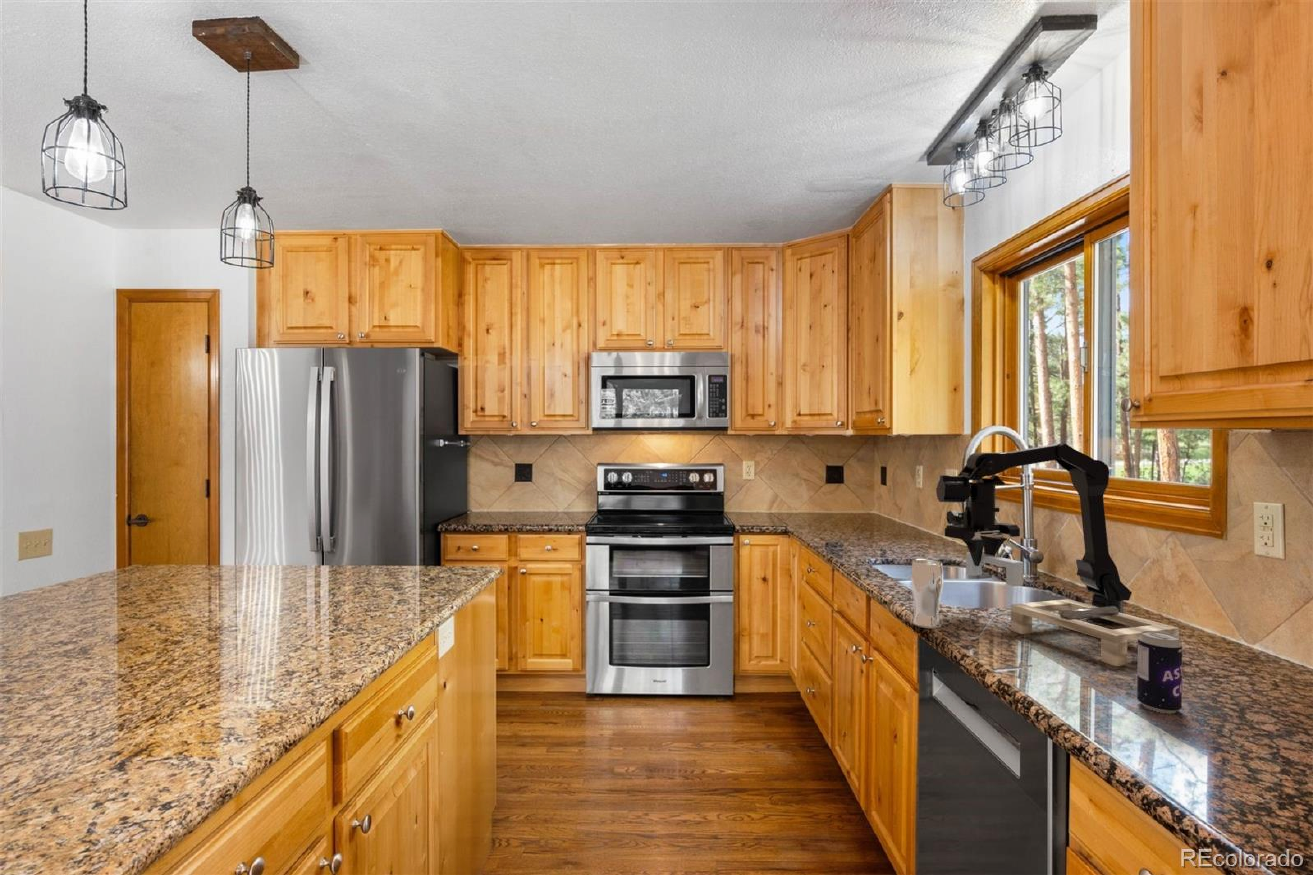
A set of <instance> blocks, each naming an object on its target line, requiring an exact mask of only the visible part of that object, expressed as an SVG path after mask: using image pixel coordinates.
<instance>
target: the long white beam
mask: <svg viewBox="0 0 1313 875" xmlns="http://www.w3.org/2000/svg"><path fill="white" fill-rule="evenodd" d="M965 556H966V557H965V558H966V560H965V561H966V562H965V571H966V572H965V575H968V576H972V577H973V576H975V577H976V576H982V575H983V570H982V569H983V564H985V563H988V564H990V565H992V566H993V565H994V566H996V567H1002V568H1005V572H1006V573H1005V577H1006V578H1005V585H1007V586H1010V587H1021V586H1022V587H1024V561H1020V560H1015V559H1010V558H1006V557H1001V556H997V555H995V556H992V555H988V554H984V552H982V557H981V562H980V565H979V566H975V565H974V562H973V559H972V557H971V554H970V551H968V552H966V553H965Z"/></svg>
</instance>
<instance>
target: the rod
mask: <svg viewBox="0 0 1313 875" xmlns="http://www.w3.org/2000/svg"><path fill="white" fill-rule="evenodd" d="M1118 613H1119V610H1118V608H1117V607H1115V606H1108V607H1098V608H1088V609H1078V610H1068V611H1062V612H1061V613H1060V617H1062V618H1066V619H1076V620H1077V619H1080V620H1085V619H1087V618H1095V617H1105V616H1112V615H1113V614H1118Z"/></svg>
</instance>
